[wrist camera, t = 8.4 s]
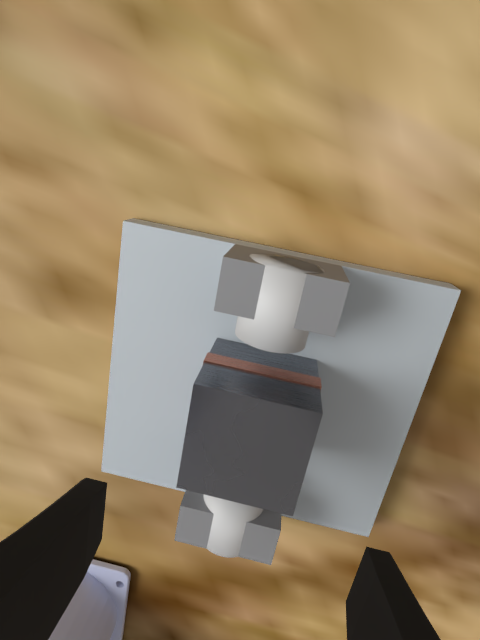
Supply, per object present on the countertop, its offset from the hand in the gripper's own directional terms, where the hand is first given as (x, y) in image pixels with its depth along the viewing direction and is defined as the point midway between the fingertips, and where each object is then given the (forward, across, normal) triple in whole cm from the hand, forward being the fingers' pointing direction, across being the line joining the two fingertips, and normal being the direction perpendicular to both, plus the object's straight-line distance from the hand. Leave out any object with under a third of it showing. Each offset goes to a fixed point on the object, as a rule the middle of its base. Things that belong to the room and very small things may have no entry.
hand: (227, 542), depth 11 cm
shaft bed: (+10, 0, 0) cm, 10 cm away
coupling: (+8, 0, 0) cm, 8 cm away
